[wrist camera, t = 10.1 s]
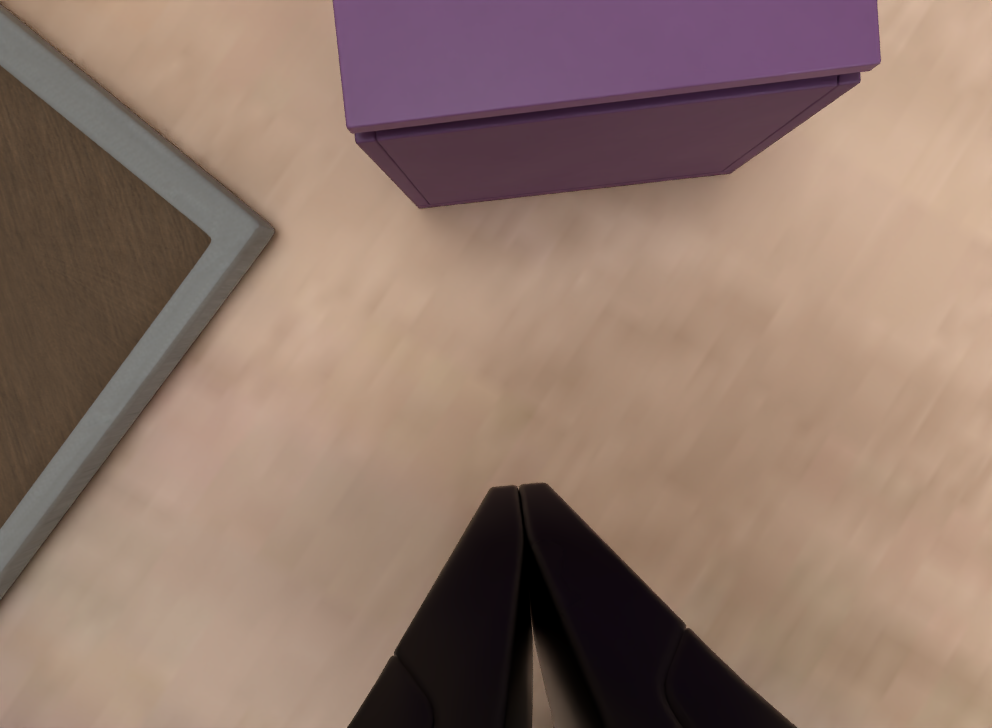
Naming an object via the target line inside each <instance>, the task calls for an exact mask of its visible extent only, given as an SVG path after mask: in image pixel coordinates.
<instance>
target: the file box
mask: <svg viewBox="0 0 992 728" xmlns="http://www.w3.org/2000/svg"><path fill="white" fill-rule="evenodd" d="M860 80H861V79H860V72H857V73H849V74H840V75H832V76H824V77H816V78H807V79H799V80H791V81H783V82H774V83H766V84H758V85H750V86H741V87H733V88H725V89H717V90H708V91H700V92H692V93H684V94H675V95H667V96H659V97H651V98H642V99H634V100H626V101H618V102H609V103H601V104H593V105H585V106H576V107H568V108H560V109H552V110H543V111H535V112H527V113H519V114H510V115H502V116H494V117H486V118H477V119H469V120H461V121H453V122H444V123H436V124H428V125H420V126H412V127H403V128H395V129H387V130H379V131H370V132H362V133H355V141H356V143H357V144H358V145H359V146H360V147H361V149H362V150H363V151H364V152H365V153H366V154H367V155H368V156H369V157H370V158H371V159H372V160H373V161H374V162H375V163H376V164H377V165H378V166H379V167H380V168H381V169H382V170H383V171H384V172H385V173H386V175H387V176H388V177H389V178H390V179H391V180H392V181H393V182H394V183H395V184H396V185H397V186H398V187H399V188H400V189H401V190H402V191H403V192H404V193H405V194H406V195H407V196H408V197H409V198H410V199H411V201H412V202H413V203H414V204H415V205H416V206H417V207H418V208H428V207H437V206H446V205H455V204H464V203H473V202H482V201H491V200H499V199H508V198H517V197H526V196H535V195H544V194H553V193H561V192H570V191H579V190H588V189H597V188H606V187H615V186H624V185H632V184H641V183H650V182H659V181H668V180H677V179H686V178H695V177H703V176H712V175H721V174H730V173H732V172H733V171H735V170H736V169H737V168H739V167H740V166H742V165H743V164H744V163H746V162H747V161H749V160H750V159H752V158H753V157H754V156H756V155H757V154H759V153H760V152H762V151H763V150H764V149H766V148H767V147H769V146H770V145H772V144H773V143H774V142H776V141H777V140H779V139H780V138H782V137H783V136H784V135H786V134H787V133H789V132H790V131H792V130H793V129H794V128H796V127H797V126H799V125H800V124H802V123H803V122H804V121H806V120H807V119H809V118H810V117H811V116H813V115H814V114H816V113H817V112H819V111H820V110H821V109H823V108H824V107H826V106H827V105H829V104H830V103H831V102H833V101H834V100H836V99H837V98H839V97H840V96H841V95H843V94H844V93H846V92H847V91H849V90H850V89H851V88H853V87H854V86H856V85H857V84H859V83H860Z"/></svg>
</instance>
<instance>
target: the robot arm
mask: <svg viewBox="0 0 992 728" xmlns="http://www.w3.org/2000/svg"><path fill="white" fill-rule="evenodd" d="M531 620H532V623H531ZM532 627H533V634H534V641H535V646H536V651H537V656H538V660H539V664H540V668H541V673H542V677H543V681H544V685H545V690H546V694H547V698H548V702H549V707H550V711H551V715H552V719H553V724H554V728H797V727H796V726H795V725H794V724H792V723H791V722H790V721H789V720H788V719H787V718H785V717H784V716H783V715H782V714H781V713H780V712H779V711H777V710H776V709H775V708H774V707H773V706H772V705H770V704H769V703H768V702H767V701H766V700H765V699H764V698H762V697H761V696H760V695H759V694H758V693H757V692H756V691H754V690H753V689H752V688H751V687H750V686H749V685H747V684H746V683H745V682H744V681H743V680H742V679H741V678H740V677H739V676H738V675H737V674H736V673H735V672H734V671H733V670H732V669H731V668H730V667H729V666H728V665H727V664H725V663H724V662H723V661H722V660H721V659H720V658H719V657H718V656H717V655H716V654H715V653H714V652H713V651H712V650H711V649H710V648H709V647H708V646H707V645H706V644H705V643H704V642H703V641H702V640H701V639H700V638H699V637H698V636H697V635H696V634H695V633H694V632H693V631H692V630H691V629H690V628H687V629H686V624H685V623H684V622H683V621H682V620H681V619H680V618H679V617H678V616H677V615H676V614H675V613H674V612H673V611H672V610H671V609H670V608H669V607H668V606H667V605H666V604H665V603H664V602H663V601H662V600H661V599H660V598H659V597H658V596H657V595H656V594H655V593H654V592H653V591H652V589H651V588H650V587H649V586H648V585H647V584H646V583H645V582H644V581H643V580H642V579H641V578H640V577H639V576H638V575H637V574H636V573H635V572H634V571H633V570H632V569H631V568H630V567H629V566H628V565H627V564H626V563H625V562H624V561H623V560H622V559H621V558H620V557H619V556H618V555H617V554H616V553H615V552H614V551H613V550H612V549H611V548H610V547H609V546H608V545H607V544H606V543H605V542H604V541H603V540H602V539H601V538H600V537H599V536H598V535H597V534H596V533H595V532H594V531H593V530H592V529H591V528H590V527H589V526H588V525H587V524H586V523H585V522H584V521H583V520H582V519H581V518H580V516H579V515H578V514H577V513H576V512H575V511H574V510H573V509H572V508H571V507H570V506H569V505H568V504H567V503H566V502H565V501H564V500H563V499H562V498H561V497H560V496H559V495H558V494H557V493H556V492H555V491H554V490H553V489H552V488H551V487H550V486H549V485H548V484H546V483H543V482H542V483H531V484H523V485H521V486H520V487H519V490H518V488H517V486H515V485H510V486H499V487H492V488H491V489H489V491H488V493H487V494H486V496H485V498H484V499H483V501H482V503H481V505H480V506H479V508H478V510H477V511H476V513H475V515H474V516H473V518H472V520H471V522H470V523H469V525H468V527H467V528H466V530H465V532H464V534H463V535H462V537H461V539H460V540H459V542H458V544H457V545H456V547H455V549H454V551H453V552H452V554H451V556H450V557H449V559H448V561H447V562H446V564H445V566H444V568H443V569H442V571H441V573H440V574H439V576H438V578H437V580H436V581H435V583H434V585H433V586H432V588H431V590H430V591H429V593H428V595H427V597H426V598H425V600H424V602H423V603H422V605H421V607H420V609H419V610H418V612H417V614H416V615H415V617H414V619H413V620H412V622H411V624H410V626H409V627H408V629H407V631H406V632H405V634H404V636H403V638H402V639H401V641H400V643H399V644H398V646H397V648H396V649H395V651H394V656H392V657H391V658H390V659H389V661H388V662H387V664H386V666H385V668H384V669H383V671H382V673H381V675H380V676H379V678H378V680H377V681H376V683H375V685H374V686H373V688H372V689H371V691H370V693H369V694H368V696H367V697H366V699H365V701H364V702H363V704H362V705H361V707H360V709H359V710H358V712H357V713H356V715H355V716H354V718H353V720H352V721H351V723H350V724H349V726H348V727H347V728H532V697H533V636H532Z"/></svg>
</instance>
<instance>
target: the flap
mask: <svg viewBox="0 0 992 728" xmlns="http://www.w3.org/2000/svg"><path fill="white" fill-rule="evenodd" d="M333 8H334V17H335V27H336V36H337V45H338V54H339V63H340V72H341V81H342V90H343V100H344V109H345V118H346V127H347V129H348V130H349V131H350V132H351V133H353V134H354V133H362V132H370V131H379V130H387V129H395V128H403V127H412V126H420V125H428V124H436V123H444V122H453V121H461V120H469V119H477V118H486V117H494V116H502V115H510V114H519V113H527V112H535V111H543V110H552V109H560V108H568V107H576V106H585V105H593V104H601V103H609V102H618V101H626V100H634V99H642V98H651V97H659V96H667V95H675V94H684V93H692V92H700V91H708V90H717V89H725V88H733V87H741V86H750V85H758V84H766V83H774V82H783V81H791V80H799V79H807V78H816V77H824V76H832V75H840V74H849V73H857V72H865V71H870V70H872V69H873V68H874V67H876V66H877V65H878V64H880V62H881V56H880V41H879V25H878V9H877V0H333Z"/></svg>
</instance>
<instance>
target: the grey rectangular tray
mask: <svg viewBox="0 0 992 728" xmlns="http://www.w3.org/2000/svg"><path fill="white" fill-rule="evenodd" d="M273 234H274V228H273V227H272V226H271V225H270V224H269V223H268V222H267V221H265V220H264V219H263V218H262V217H261V216H260V215H258V214H257V213H256V212H255V211H253V210H252V209H251V208H250V207H249V206H247V205H246V204H245V203H244V202H242V201H241V200H240V199H239V198H237V197H236V196H235V195H234V194H233V193H231V192H230V191H229V190H228V189H226V188H225V187H224V186H223V185H222V184H220V183H219V182H218V181H217V180H215V179H214V178H213V177H212V176H211V175H209V174H208V173H207V172H206V171H204V170H203V169H202V168H201V167H199V166H198V165H197V164H196V163H195V162H193V161H192V160H191V159H190V158H188V157H187V156H186V155H185V154H184V153H182V152H181V151H180V150H179V149H177V148H176V147H175V146H174V145H173V144H171V143H170V142H169V141H168V140H166V139H165V138H164V137H163V136H162V135H160V134H159V133H158V132H157V131H155V130H154V129H153V128H152V127H150V126H149V125H148V124H147V123H146V122H144V121H143V120H142V119H141V118H139V117H138V116H137V115H136V114H135V113H133V112H132V111H131V110H130V109H128V108H127V107H126V106H125V105H124V104H122V103H121V102H120V101H119V100H117V99H116V98H115V97H114V96H112V95H111V94H110V93H109V92H108V91H106V90H105V89H104V88H103V87H101V86H100V85H99V84H98V83H97V82H95V81H94V80H93V79H92V78H90V77H89V76H88V75H87V74H86V73H84V72H83V71H82V70H81V69H79V68H78V67H77V66H76V65H75V64H73V63H72V62H71V61H70V60H68V59H67V58H66V57H65V56H63V55H62V54H61V53H60V52H59V51H57V50H56V49H55V48H54V47H52V46H51V45H50V44H49V43H48V42H46V41H45V40H44V39H43V38H41V37H40V36H39V35H38V34H37V33H35V32H34V31H33V30H32V29H30V28H29V27H28V26H27V25H25V24H24V23H23V22H22V21H21V20H19V19H18V18H17V17H16V16H14V15H13V14H12V13H11V12H10V11H8V10H7V9H6V8H5V7H3V6H2V5H1V4H0V600H1V598H2V597H3V596H4V594H5V593H6V592H7V590H8V589H9V588H10V586H11V585H12V584H13V582H14V581H15V580H16V578H17V577H18V576H19V574H20V573H21V572H22V570H23V569H24V568H25V566H26V565H27V564H28V562H29V561H30V560H31V558H32V557H33V556H34V554H35V553H36V552H37V550H38V549H39V548H40V546H41V545H42V544H43V542H44V541H45V540H46V538H47V537H48V536H49V534H50V533H51V532H52V530H53V529H54V528H55V526H56V525H57V524H58V522H59V521H60V520H61V518H62V517H63V516H64V514H65V513H66V512H67V510H68V509H69V508H70V506H71V505H72V504H73V502H74V501H75V500H76V498H77V497H78V496H79V494H80V493H81V492H82V490H83V489H84V488H85V486H86V485H87V484H88V482H89V481H90V480H91V478H92V477H93V476H94V474H95V473H96V472H97V470H98V469H99V468H100V466H101V465H102V464H103V462H104V461H105V460H106V458H107V457H108V456H109V454H110V453H111V452H112V450H113V449H114V448H115V446H116V445H117V444H118V442H119V441H120V440H121V438H122V437H123V436H124V434H125V433H126V432H127V430H128V429H129V428H130V426H131V425H132V424H133V422H134V421H135V420H136V418H137V417H138V416H139V414H140V413H141V412H142V410H143V409H144V408H145V406H146V405H147V404H148V402H149V401H150V400H151V398H152V397H153V396H154V394H155V393H156V392H157V390H158V389H159V388H160V386H161V385H162V384H163V382H164V381H165V380H166V378H167V377H168V376H169V374H170V373H171V372H172V370H173V369H174V368H175V366H176V365H177V364H178V362H179V361H180V360H181V358H182V357H183V356H184V354H185V353H186V352H187V350H188V349H189V348H190V346H191V345H192V344H193V342H194V341H195V340H196V338H197V337H198V336H199V334H200V333H201V332H202V330H203V329H204V328H205V326H206V325H207V324H208V322H209V321H210V320H211V318H212V317H213V316H214V314H215V313H216V312H217V310H218V309H219V308H220V306H221V305H222V304H223V302H224V301H225V300H226V298H227V297H228V296H229V294H230V293H231V292H232V290H233V289H234V288H235V286H236V285H237V284H238V282H239V281H240V280H241V278H242V277H243V276H244V274H245V273H246V272H247V270H248V269H249V268H250V266H251V265H252V264H253V262H254V261H255V260H256V258H257V257H258V256H259V254H260V253H261V251H262V250H263V249H264V247H265V246H266V245H267V243H268V242H269V241H270V239H271V237H272V236H273Z"/></svg>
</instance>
